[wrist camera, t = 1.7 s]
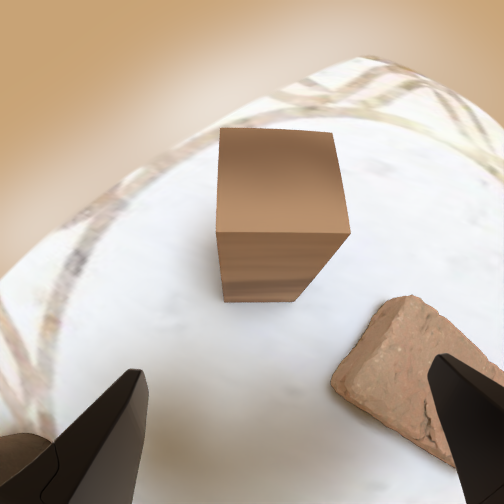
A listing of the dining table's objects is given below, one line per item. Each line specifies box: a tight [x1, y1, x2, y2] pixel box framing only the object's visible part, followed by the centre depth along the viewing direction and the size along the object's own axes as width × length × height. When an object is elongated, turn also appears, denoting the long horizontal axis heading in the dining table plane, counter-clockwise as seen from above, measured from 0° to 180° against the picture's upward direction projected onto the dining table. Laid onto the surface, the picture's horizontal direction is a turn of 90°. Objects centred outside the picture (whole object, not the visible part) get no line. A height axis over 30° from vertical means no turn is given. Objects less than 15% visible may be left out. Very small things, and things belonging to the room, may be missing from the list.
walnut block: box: [216, 128, 351, 302], centre depth 18 cm, size 5×5×12 cm
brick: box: [331, 295, 504, 468], centre depth 19 cm, size 16×8×5 cm, turn 52°
